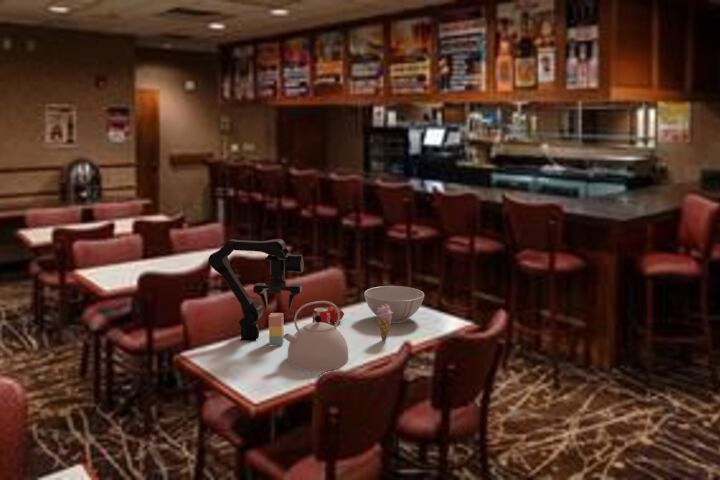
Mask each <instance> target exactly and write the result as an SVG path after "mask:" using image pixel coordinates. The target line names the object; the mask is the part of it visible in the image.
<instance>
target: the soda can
mask: <svg viewBox="0 0 720 480" xmlns="http://www.w3.org/2000/svg"><path fill="white" fill-rule="evenodd" d="M317 315H319V316H321V318H322V320H321V321H320V322H322V323H327V324H330V325H331V323H330V313H329V311H328V309H327V308H325V307H315V308H314V309H313V312H312V323H315V322H316V321H315V316H317Z"/></svg>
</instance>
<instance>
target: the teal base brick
mask: <svg viewBox="0 0 720 480" xmlns="http://www.w3.org/2000/svg"><path fill="white" fill-rule="evenodd" d="M284 335H285V333H283V335H282V336H269V335H268V337H269V338H268V340H269V344H268V345H280V346H279V347H283V345H284V342H285V341H284V340H285V338H283V336H284Z"/></svg>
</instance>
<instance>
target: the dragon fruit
mask: <svg viewBox="0 0 720 480" xmlns="http://www.w3.org/2000/svg"><path fill="white" fill-rule="evenodd" d="M324 308H327V309H328V311H329V313H330V324H331V325H335V324H336V322H337V319H338V313H337V310H336V308H335V307H334V306H332V305H329V306H324ZM337 308H338V309H339V313H340V320H339V323H340V322H342V321H341V320H342V319H343V318H344V315H345V313H344V311H343V310H342V308H339V307H337Z"/></svg>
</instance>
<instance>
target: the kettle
mask: <svg viewBox="0 0 720 480" xmlns="http://www.w3.org/2000/svg"><path fill="white" fill-rule="evenodd" d="M317 304H328V305H329V306H332V307H335V308H336V310H337V313H338V319H337V322H336V323H335V324H334V325H332V324H331V323H330V324H327V323H322V322H320V321H321V320H322V318H321V316H319V315H317V316H315V321H316V322H315V323H313V322H310V323H307V324H306V325H303V326H302V327H300V328H299V327H298V323H297V319H298V318H297V317H298V314H299V313H300V311H302V310H303V309H304V308H306V307H308V306H311V305H317ZM338 308H339V307H338V306H337V305H336V304H334V303H333V302H331V301H327V300H317V301H312V302H311V301H310V302H308V303H305V304H303V305H302V306H300V307H299V308H298V309H297V310H296V312H295V314H294V318H293V323H294V327H295V329H296V332H295V334H290V333H284V336H283V338H284V340H286V341H287V342H289V345H288V349H287V363H288V364H289V365H290V366H292V367H293V366H294V368H297V369H301V370H304V369H305V370H304V371H314V370H320V371H330V370H334V369H338V368H342V367H343V366H345V365H347V364H348V363H349V360H350V359H349V347H348V344H347V341H346V339H345V337H344V335H343V334H342V332H341V331H339V330H338V329H337V326H338V325H339V323H340V322H339V321H341V320H340V313H339V309H340V308H339V309H338Z"/></svg>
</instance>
